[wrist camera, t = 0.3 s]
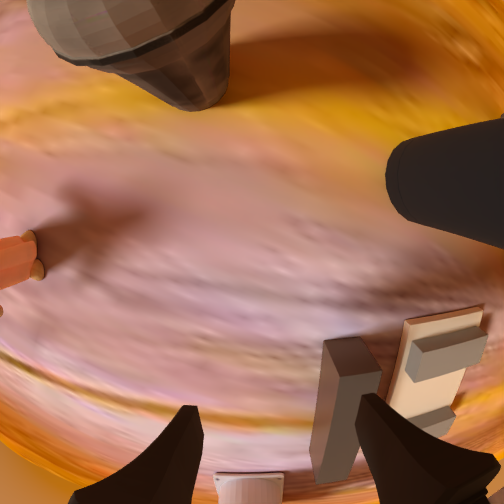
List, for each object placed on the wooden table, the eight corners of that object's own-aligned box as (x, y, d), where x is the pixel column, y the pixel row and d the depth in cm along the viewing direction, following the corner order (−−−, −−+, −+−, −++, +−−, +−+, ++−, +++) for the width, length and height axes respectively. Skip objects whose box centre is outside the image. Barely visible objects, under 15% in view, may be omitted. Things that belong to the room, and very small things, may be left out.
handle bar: (336, 444, 24) (346, 479, 19) (308, 448, 24) (315, 484, 19) (359, 335, 21) (382, 370, 16) (322, 339, 21) (339, 377, 16)
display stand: (435, 425, 24) (445, 440, 21) (370, 444, 24) (377, 463, 21) (477, 306, 20) (496, 318, 17) (404, 319, 20) (422, 336, 17)
